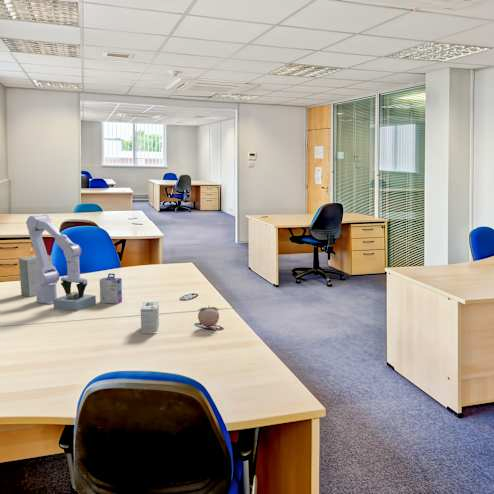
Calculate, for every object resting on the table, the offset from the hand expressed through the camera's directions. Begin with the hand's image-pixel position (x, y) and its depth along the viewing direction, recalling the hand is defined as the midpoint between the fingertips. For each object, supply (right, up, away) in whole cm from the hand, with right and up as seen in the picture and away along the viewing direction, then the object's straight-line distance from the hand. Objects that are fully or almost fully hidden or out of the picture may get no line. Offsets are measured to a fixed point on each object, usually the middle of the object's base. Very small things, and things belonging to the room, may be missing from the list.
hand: (74, 296), depth 255 cm
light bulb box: (+44, -11, -35) cm, 57 cm away
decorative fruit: (+69, -11, -32) cm, 76 cm away
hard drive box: (-28, -1, +25) cm, 37 cm away
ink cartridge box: (+16, -4, +8) cm, 18 cm away
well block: (0, -5, +1) cm, 5 cm away
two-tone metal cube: (0, -5, 0) cm, 5 cm away
